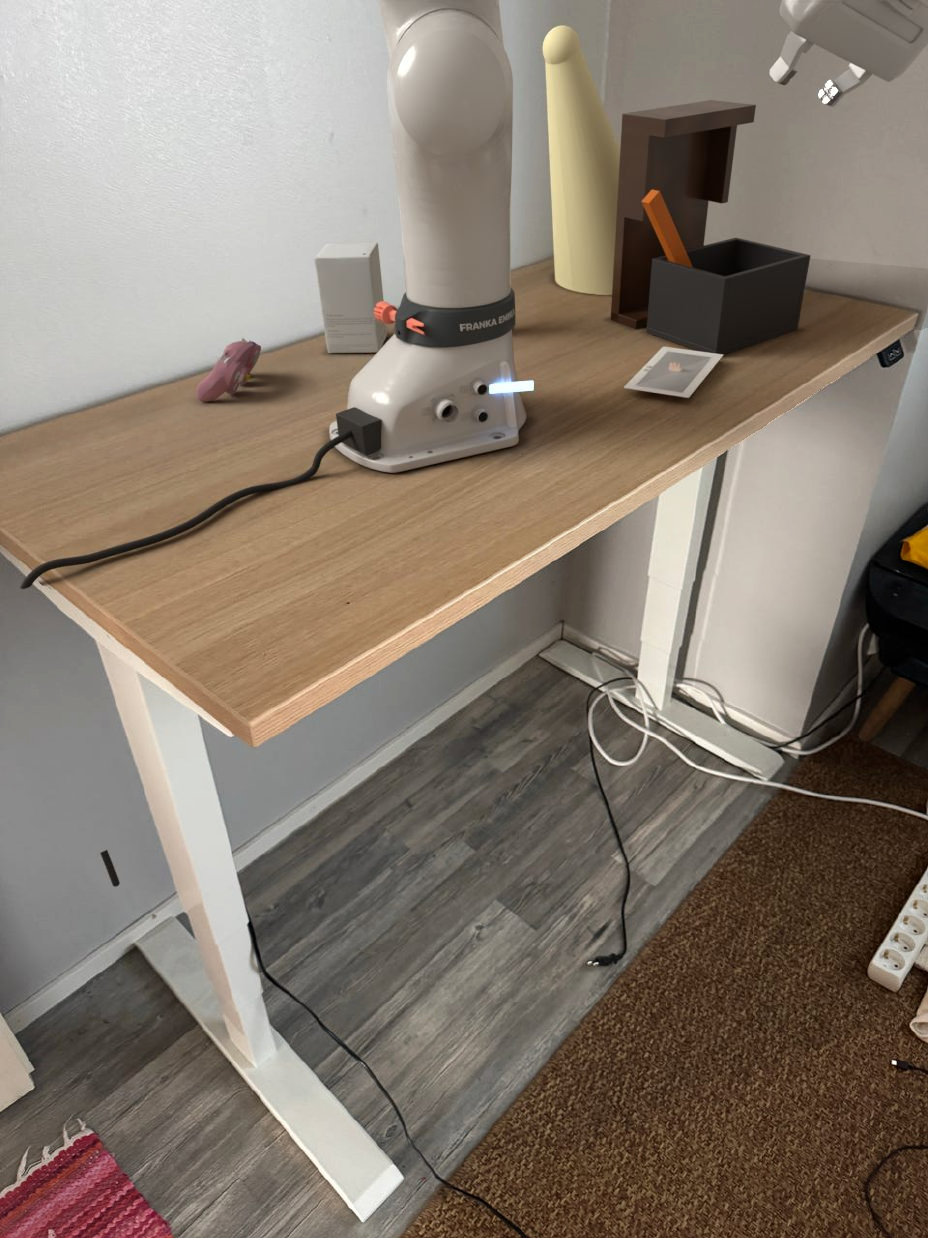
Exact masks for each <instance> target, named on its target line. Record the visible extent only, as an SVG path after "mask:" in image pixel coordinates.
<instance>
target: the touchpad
mask: <svg viewBox="0 0 928 1238" xmlns="http://www.w3.org/2000/svg"><path fill="white" fill-rule="evenodd" d="M723 356H724V355H723V354H715V353H708V352H700V351H697V350H694V349H685V348H678V347H670V346H662V347H661V348H660V349H659V350H658V351H657V352H656V353H655V354H654V355H653V356H652V357H651V358H650V360H648V362H647V363H645V364H644V365H643V367H642V368H641V369H640V370H639V371H638V372H637V373H636V374H635V375H634V376H633V377H632V378H631V379H630V380H629V381H628V382H626V384H625V385H624V386H623V389H627V390H634V391H641V392H647V393H654V394H660V395H667V396H672V397H679V398H687V399H690V397H691V396H692V394H694V392H695V391H696V390H697V388H698V387H699V386H700V385H701V383H703V381H704V380H705V379H706V378H707V376H708V375H709V373H710V372H711V371H713V369H714V367H715V366H717V364H718V363H719V361H720V360H721V359H722V358H723Z"/></svg>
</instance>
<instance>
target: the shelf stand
mask: <svg viewBox="0 0 928 1238" xmlns="http://www.w3.org/2000/svg"><path fill="white" fill-rule="evenodd" d="M756 107H757V104H752V103H751V104H750V103H742V102H734V101H733V102H732V101H723V100H713V99H709V100H701V101H697V102H690V103H689V102H688V103H683V104H678V105H671V106H670V105H669V106H663V107H658V108H657V107H656V108H651V109H644V110H643V109H642V110H637V111H630V112H623V113H622V114H621V130H620V131H621V132H620V146H619V148H620V164H619V181H618V199H617V216H616V234H615V251H614V269H613V286H612V295H611V303H610V304H611V306H610V320H611V321H613V322H615V323H618V324H621V325H624V326H627V327H629V328H632V329H635V330H637V329H640V328H644V327H647V318H648V306H649V293H650V281H651V268H652V259H653V258H657V257H661V256H665V255H666V254H665V252H664V250H663V247H662V245H661V243H660V241H659V239H658V236H657V234H656V232H655V230H654V228H653V226H652V223H651V221H650V219H649V217H648V215H647V212H646V210H645V208H644V206H643V204H642V200H643V199H644V198H645V197H646V196H647V194H648V193H649V192H650V191H651V190H657V191H660V193H661V195H662V198H663V200H664V202H665V204H666V207H667V209H668V211H669V214H670V216H671V218H672V221H673V223H674V225H675V227H676V230H677V232H678V234H679V237H680V239H681V241H682V244H683V246H684V248H685V250H689V249H693V248H697V247H700V246H704V245H705V237H706V227H707V219H708V211H709V202H712V203H716V204H726V203H728V202H729V196H730V188H731V180H732V170H733V163H734V156H735V155H734V154H735V148H736V147H735V146H736V137H737V130H738V126H741V125H746V124H747V125H748V124H752V123H754V122H755V115H756Z"/></svg>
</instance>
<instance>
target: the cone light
mask: <svg viewBox="0 0 928 1238" xmlns="http://www.w3.org/2000/svg"><path fill="white" fill-rule="evenodd" d="M580 39H581V38H580V36H579V34H578V33H577V32H576V30H575V29H573V27H570V26H568V25H564V24H563V25H562V24H561V25H557V26H555V27H553V28H552V29H550V31H548V33H547V34H546V35H545V37H544V40H543V43H542V56H543V58H544V63H545V65H544V67H545V85H546V86H545V87H546V109H547V131H548V132H547V133H548V153H549V154H548V155H549V174H550V175H549V177H550V198H551V199H550V200H551V219H552V220H551V221H552V222H551V223H552V243H553V263H554V264H553V266H554V281H555V283H556V284H557V285H558V286H559V287H562V288H564V289H566V290H569V291H572V292H577V293H582V294H587V295H588V294H589V295H596V296H597V295H599V296H612V286H613V269H614V251H615V234H616V216H617V199H618V181H619V164H620V146H619V143H618V140H617V138H616V135H615V133H614V130H613V127H612V125H611V123H610V120H609V117H608V114H607V112H606V109H605V107H604V104H603V102H602V99H601V96H600V94H599V91H598V88H597V86H596V84H595V81H594V79H593V76H592V73H591V70H590V68H589V65H588V63H587V61H586V57H585V55H584V52H583V49H582V47H581V45H582V44H581V40H580Z"/></svg>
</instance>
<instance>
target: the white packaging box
mask: <svg viewBox="0 0 928 1238" xmlns="http://www.w3.org/2000/svg"><path fill="white" fill-rule="evenodd" d="M379 249H380V248H379V242H377V241H372V242H371V241H370V242H338V243H337V242H335V243H330V242H329V243H328V242H327V243H325V244H324V246H323V247H322V248H321V249H320V250H319V252H318V253H317V254H316V255H315V257H313V260H314V267H315V273H316V280H317V285H318V286H317V288H318V295H319V301H320V308H321V316H322V323H323V330H324V331H323V332H324V337H325V344H326V350H327V354H365V353H368V354H369V353H371V354H372V353H374V354H376V353H377V352H378V351H379V350H380V349H381V348H382V347H383V346H384V344H385V340H386V339H387V336H388V331H387V324H386V323H384V322H382V321H379V320H377V319H378V318H375V314H374V312H375V310H374V308H376V307H378V306H376V304H377V303H379V302H381V301H384V300H385V299H384V290H383V279H382V271H381V270H382V269H381V261H380V250H379ZM384 302H385V301H384Z"/></svg>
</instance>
